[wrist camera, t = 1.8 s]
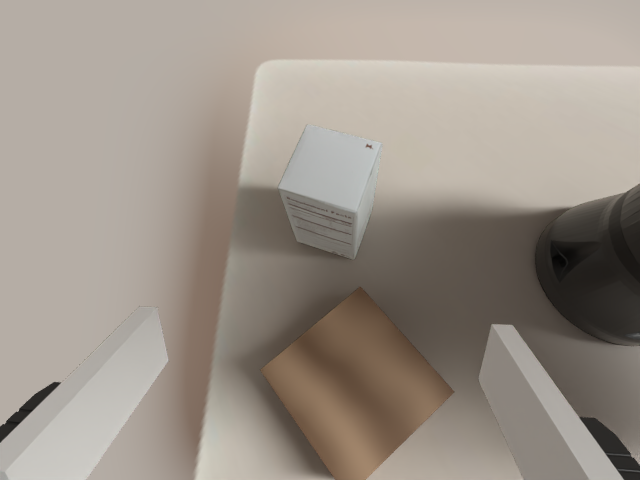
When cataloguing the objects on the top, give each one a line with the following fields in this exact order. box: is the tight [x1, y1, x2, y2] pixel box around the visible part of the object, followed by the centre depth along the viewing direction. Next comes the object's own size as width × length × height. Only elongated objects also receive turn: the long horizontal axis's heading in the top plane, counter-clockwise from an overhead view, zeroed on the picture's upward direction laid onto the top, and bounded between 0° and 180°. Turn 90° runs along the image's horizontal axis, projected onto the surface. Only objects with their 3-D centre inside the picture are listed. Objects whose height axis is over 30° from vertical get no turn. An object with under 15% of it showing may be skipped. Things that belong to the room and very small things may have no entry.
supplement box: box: [278, 125, 383, 260], centre depth 35 cm, size 7×7×13 cm
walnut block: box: [260, 287, 454, 480], centre depth 32 cm, size 12×12×5 cm
